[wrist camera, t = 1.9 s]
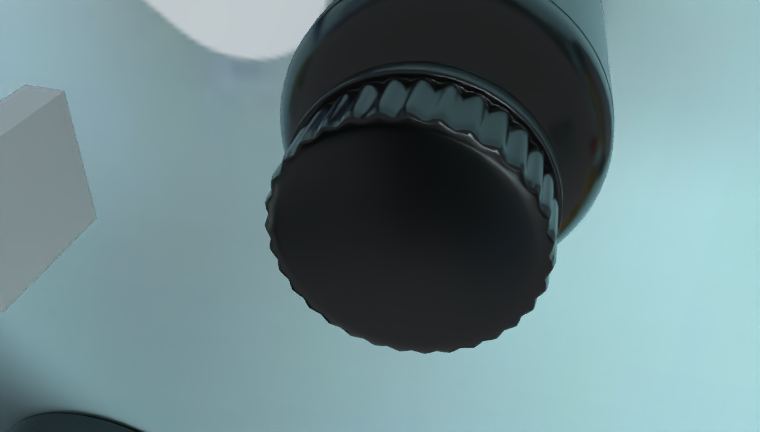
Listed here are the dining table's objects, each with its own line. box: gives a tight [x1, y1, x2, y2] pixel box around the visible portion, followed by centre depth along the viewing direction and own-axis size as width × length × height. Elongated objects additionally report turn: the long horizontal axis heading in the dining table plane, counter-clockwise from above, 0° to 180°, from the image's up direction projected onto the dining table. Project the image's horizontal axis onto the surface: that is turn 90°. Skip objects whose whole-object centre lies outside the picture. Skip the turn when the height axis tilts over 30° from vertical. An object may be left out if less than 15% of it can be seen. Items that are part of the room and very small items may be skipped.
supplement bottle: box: [265, 0, 614, 354], centre depth 16 cm, size 7×7×12 cm
